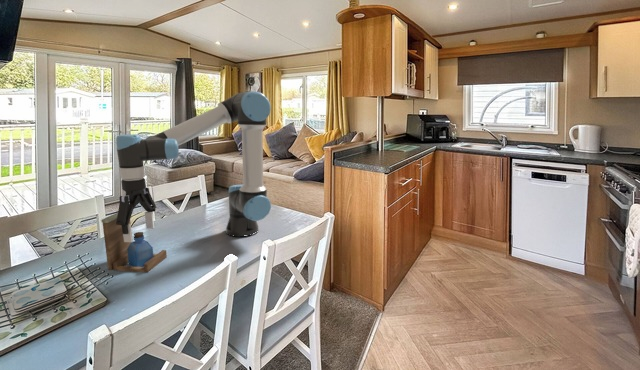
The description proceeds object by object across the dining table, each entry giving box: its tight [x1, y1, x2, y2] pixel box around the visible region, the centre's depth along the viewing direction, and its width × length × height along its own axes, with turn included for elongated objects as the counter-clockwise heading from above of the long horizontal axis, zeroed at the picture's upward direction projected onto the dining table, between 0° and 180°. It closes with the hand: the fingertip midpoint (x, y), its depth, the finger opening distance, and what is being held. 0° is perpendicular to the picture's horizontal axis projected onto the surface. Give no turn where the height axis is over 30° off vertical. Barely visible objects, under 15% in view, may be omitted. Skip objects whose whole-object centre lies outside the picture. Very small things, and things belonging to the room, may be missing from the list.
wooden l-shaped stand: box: [100, 212, 168, 273], centre depth 125 cm, size 15×14×19 cm
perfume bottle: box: [127, 231, 154, 267], centre depth 125 cm, size 6×6×12 cm
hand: (140, 234), depth 124 cm, fingers open, 13 cm apart
